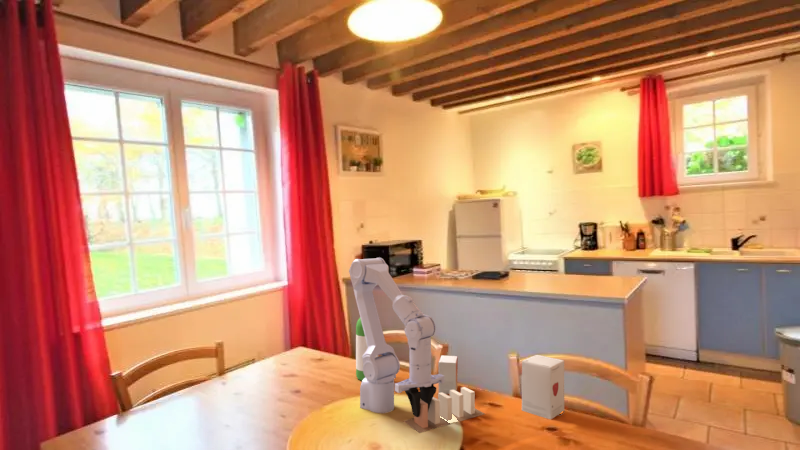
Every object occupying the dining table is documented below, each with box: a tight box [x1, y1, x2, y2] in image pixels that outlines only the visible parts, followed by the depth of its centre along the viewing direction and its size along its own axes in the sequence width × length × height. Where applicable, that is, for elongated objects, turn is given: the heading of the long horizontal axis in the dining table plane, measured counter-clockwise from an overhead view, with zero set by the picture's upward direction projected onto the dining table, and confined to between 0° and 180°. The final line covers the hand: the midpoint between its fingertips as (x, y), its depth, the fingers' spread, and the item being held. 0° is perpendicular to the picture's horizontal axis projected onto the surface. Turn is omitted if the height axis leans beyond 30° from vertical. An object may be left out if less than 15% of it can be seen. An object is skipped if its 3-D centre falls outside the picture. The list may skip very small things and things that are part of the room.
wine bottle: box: [355, 317, 379, 382], centre depth 154 cm, size 8×8×30 cm
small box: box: [438, 355, 459, 395], centre depth 141 cm, size 8×6×10 cm
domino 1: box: [413, 400, 428, 428], centre depth 116 cm, size 1×4×6 cm, turn 30°
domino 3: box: [437, 392, 452, 421], centre depth 120 cm, size 1×4×6 cm, turn 30°
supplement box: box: [521, 354, 565, 420], centre depth 125 cm, size 9×9×15 cm
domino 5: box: [460, 386, 476, 414], centre depth 124 cm, size 1×4×6 cm, turn 31°
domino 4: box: [449, 390, 463, 418], centre depth 122 cm, size 1×4×6 cm, turn 30°
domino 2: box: [428, 396, 440, 424], centre depth 118 cm, size 1×4×6 cm, turn 31°
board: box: [402, 408, 486, 434], centre depth 120 cm, size 22×8×1 cm, turn 121°
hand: (420, 414), depth 116 cm, fingers open, 2 cm apart
